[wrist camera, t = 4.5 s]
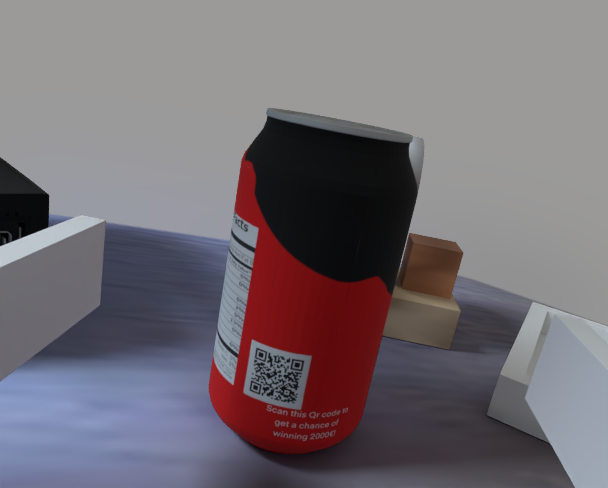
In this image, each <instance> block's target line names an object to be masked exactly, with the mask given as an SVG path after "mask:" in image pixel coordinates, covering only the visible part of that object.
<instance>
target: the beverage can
mask: <svg viewBox="0 0 608 488" xmlns="http://www.w3.org/2000/svg"><path fill="white" fill-rule="evenodd" d="M266 114H267V121H266V123H265V126H264V128H263V130H262V131H261V132H260V134H259V135H258V136H257V137H256V139H255V140H254V141H253V143H252V144H251V145H250V147H249V148H248V149H247V150H246V151H245V153H244V156H243V158H242V161H241V168H240V175H239V182H238V189H237V195H236V202H235V210H234V216H233V223H232V230H231V237H230V243H229V250H228V257H227V264H226V271H225V278H224V285H223V292H222V299H221V305H220V312H219V319H218V326H217V333H216V340H215V347H214V354H213V361H212V367H211V374H210V381H209V393H210V399H211V402H212V405H213V407H214V409H215V411H216V412H217V414H218V415H219V417H220V418H221V420H222V421H223V422H224V423H225V424H226V425H227V426H228V427H229V428H231V429H232V430H233V431H234V432H236V433H237V434H238V435H239V436H240V437H242V438H243V439H244V440H246V441H247V442H249V443H251V444H253V445H255V446H257V447H259V448H262V449H265V450H268V451H271V452H276V453H282V454H304V453H309V452H313V451H316V450H320V449H324V448H327V447H330V446H333V445H335V444H337V443H339V442H340V441H342V440H343V439H345V438H346V437H347V436H349V435H350V434H351V433H352V432H353V431H354V430H355V428H356V427H357V425H358V424H359V422H360V420H361V418H362V415H363V411H364V407H365V403H366V399H367V395H368V391H369V387H370V383H371V379H372V375H373V371H374V367H375V363H376V359H377V355H378V351H379V347H380V343H381V339H382V335H383V331H384V327H385V323H386V319H387V315H388V311H389V307H390V303H391V299H392V295H393V291H394V287H395V283H396V279H397V275H398V271H399V267H400V263H401V258H402V255H403V251H404V247H405V243H406V239H407V235H408V231H409V227H410V223H411V218H412V215H413V211H414V206H415V203H416V198H417V195H418V194H417V193H418V192H417V182H416V179H415V175H414V172H413V168H412V165H411V161H410V158H409V146H410V143H411V142H412V140H413V136H412V135H409V134H406V133H402V132H398V131H394V130H389V129H385V128H380V127H375V126H371V125H366V124H361V123H356V122H351V121H346V120H340V119H335V118H330V117H324V116H319V115H313V114H307V113H301V112H295V111H289V110H282V109H274V108H268V109H267V112H266Z"/></svg>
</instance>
